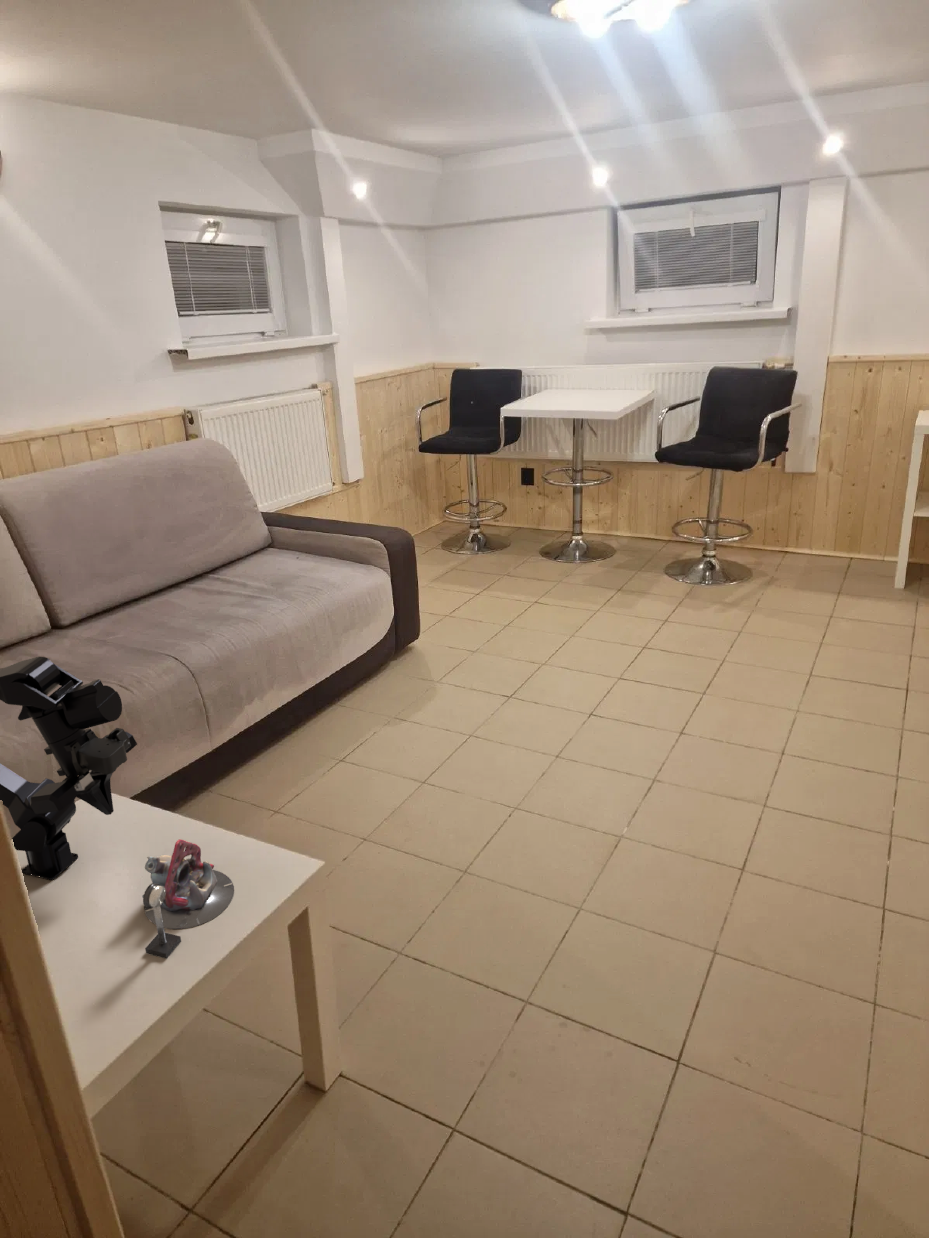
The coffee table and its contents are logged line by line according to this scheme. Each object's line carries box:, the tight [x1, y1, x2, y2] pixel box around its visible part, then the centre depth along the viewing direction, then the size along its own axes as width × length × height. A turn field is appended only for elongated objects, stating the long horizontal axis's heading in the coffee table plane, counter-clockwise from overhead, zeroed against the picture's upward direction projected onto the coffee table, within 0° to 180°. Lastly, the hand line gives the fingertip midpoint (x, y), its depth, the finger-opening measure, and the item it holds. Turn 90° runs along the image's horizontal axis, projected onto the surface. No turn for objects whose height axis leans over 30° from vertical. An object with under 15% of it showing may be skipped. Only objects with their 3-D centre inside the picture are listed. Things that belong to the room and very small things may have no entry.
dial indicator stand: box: [142, 882, 182, 960], centre depth 122 cm, size 4×4×12 cm
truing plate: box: [143, 869, 235, 930], centre depth 134 cm, size 14×14×1 cm
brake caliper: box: [142, 839, 217, 911], centre depth 133 cm, size 11×11×12 cm
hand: (110, 813), depth 135 cm, fingers closed
